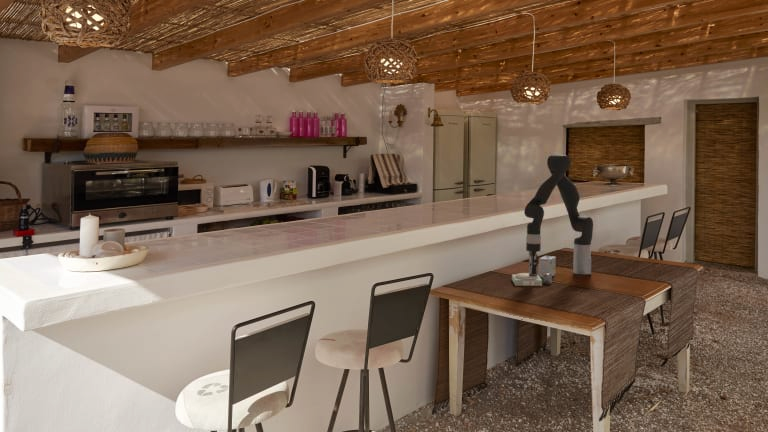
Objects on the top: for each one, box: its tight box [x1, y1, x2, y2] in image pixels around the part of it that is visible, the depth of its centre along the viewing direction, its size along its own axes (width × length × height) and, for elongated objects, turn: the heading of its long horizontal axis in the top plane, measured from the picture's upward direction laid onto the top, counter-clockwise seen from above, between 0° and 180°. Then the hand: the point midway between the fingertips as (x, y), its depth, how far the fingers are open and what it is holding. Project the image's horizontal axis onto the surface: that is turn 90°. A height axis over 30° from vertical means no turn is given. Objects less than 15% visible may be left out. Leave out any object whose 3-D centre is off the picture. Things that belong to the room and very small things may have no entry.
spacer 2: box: [542, 273, 553, 285], centre depth 318 cm, size 4×4×5 cm
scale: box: [511, 272, 543, 287], centre depth 319 cm, size 14×14×4 cm
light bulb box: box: [538, 255, 557, 278], centre depth 335 cm, size 11×7×11 cm, turn 146°
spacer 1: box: [528, 265, 538, 276], centre depth 318 cm, size 4×4×5 cm
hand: (532, 272), depth 319 cm, fingers open, 6 cm apart
